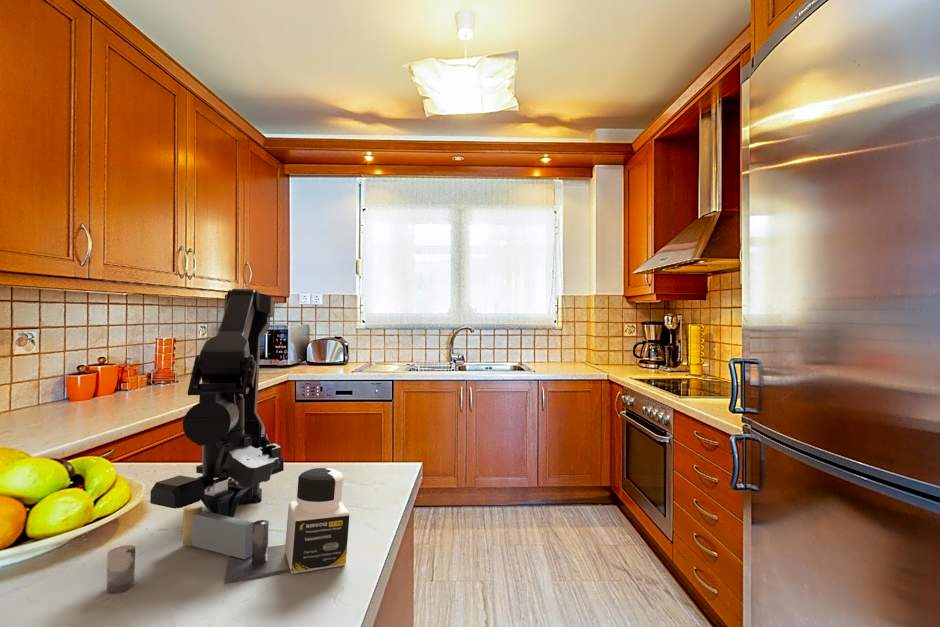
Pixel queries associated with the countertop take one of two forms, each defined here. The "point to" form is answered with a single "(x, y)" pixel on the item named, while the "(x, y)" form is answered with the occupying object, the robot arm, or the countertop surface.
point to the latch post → (120, 569)
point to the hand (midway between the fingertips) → (224, 533)
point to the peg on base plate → (258, 558)
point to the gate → (217, 532)
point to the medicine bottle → (317, 522)
